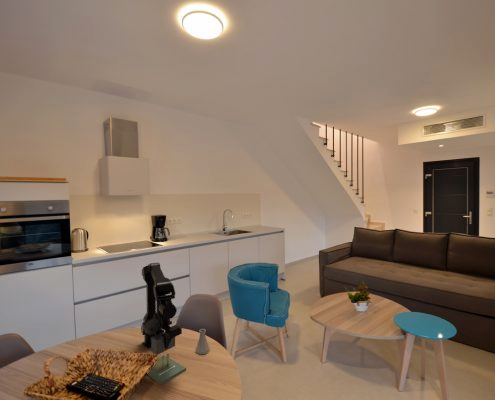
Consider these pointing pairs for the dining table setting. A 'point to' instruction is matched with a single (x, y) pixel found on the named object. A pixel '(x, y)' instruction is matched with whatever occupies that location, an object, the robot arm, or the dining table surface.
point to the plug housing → (160, 344)
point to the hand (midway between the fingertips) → (163, 346)
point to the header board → (165, 369)
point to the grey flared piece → (202, 343)
